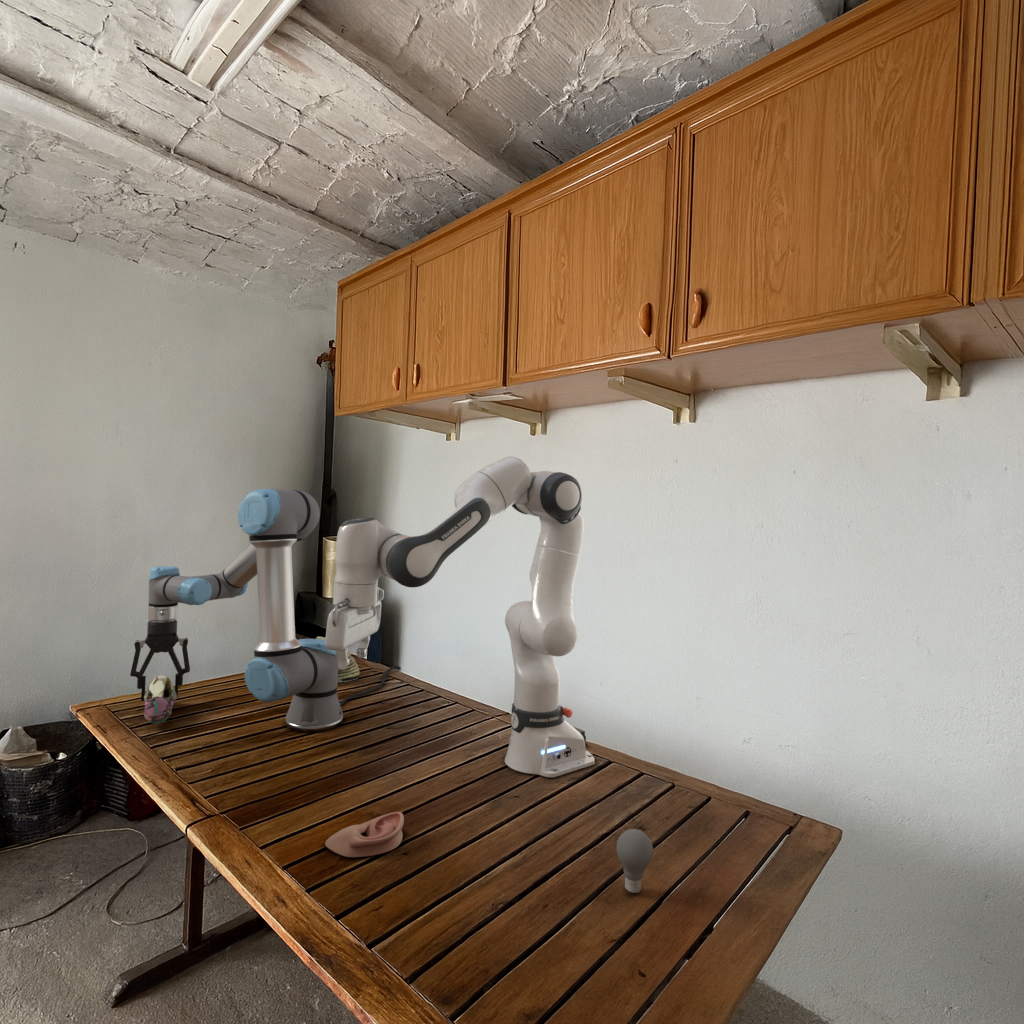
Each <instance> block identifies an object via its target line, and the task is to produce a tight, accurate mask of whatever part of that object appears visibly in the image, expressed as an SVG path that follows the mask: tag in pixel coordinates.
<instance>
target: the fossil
mask: <svg viewBox="0 0 1024 1024" xmlns="http://www.w3.org/2000/svg"><path fill="white" fill-rule="evenodd" d="M315 639H322V640H326V636H325V637H323V636H317V637H315ZM347 656H348V659H349V667H348V668H346V669H339V668H338V683H347V682H351V681H355V680H358V679H359V677H360V675H361V672H360V668H359V665H358V663H357V662H356V659H355V658H354V657H353V656H352V654H351V652H350V650H349V649H348V652H347Z"/></svg>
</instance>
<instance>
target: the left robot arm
mask: <svg viewBox="0 0 1024 1024" xmlns="http://www.w3.org/2000/svg"><path fill="white" fill-rule="evenodd" d="M238 508H239V509H238V512H237V520H238V524H239V527H240V528H241V531H242V532H244V533H245V534H246V535H248V537H249V539H248V541H249V544H250V545H248V547H247V548H246V549H245V550H244V551H243V552H242V553H240V554H239V555H238V556H237V557H236V558H234V560H232V562H231V563H230V564H228V566H226V567H225V568H224V569H223V570H222V571H221V572H219V573H213V574H212V573H211V574H204V575H203V574H202V575H193V576H186V575H180V568H179V567H177V566H174V565H160V566H158V565H157V566H153V567H152V568H150V570H149V579H148V605H147V619H148V622H147V629H146V630H147V634H146V637H145V639H141V640H139V639H137V640H135V641H134V645H133V646H134V649H135V650H134V656H133V660H132V664H131V669H130V673H129V675H130V677H134V678H137V679H136V680H137V683H136V688H137V690H141V696H140V697H141V698H140V701H141V702H144V695H145V694H146V678H147V675H144V674H145V673H146V670H147V668H148V666H149V664H150V662H151V660H152V659H153V657H154V655H155V654H160V653H168V655H169V657H170V659H171V661H172V663H173V665H174V668H175V670H176V672H177V673H175V677H174V678H175V679H174V689H175V692H176V694H177V699H178V698H179V697H178V696H179V687H182V686H183V682H184V674H189V673H190V671H191V666H190V660H189V652H188V644H189V638H188V637H184V638H183V637H179V636H178V620H177V619H178V614H179V613H178V612H179V603H180V604H185V605H188V606H201V605H204V604H205V603H207V602H209V601H215V600H223V599H234V598H236V597H239V596H242V595H244V594H245V593H246V591H247V588H248V587H249V582H250V581H251V580H252V579H254V578H255V577H256V576H257V600H258V621H259V622H258V623H259V624H258V625H259V642H258V643H257V644H256V646H255V647H254V648H253V656H254V658H252V659H251V660H250V661H249V662H248V663H247V666H245V670H244V680H245V685H246V687H247V690H248V691H249V693H250V694H251V695H253V697H254V698H255V699H256V700H258V701H260V702H263V703H274V702H277V701H283V700H285V699H286V698H289V697H291V696H293V697H292V699H291V702H290V704H289V708H288V710H287V711H286V712H285V726H286V728H287V729H289V730H291V731H294V732H295V731H296V732H301V733H316V732H325V731H329V730H332V729H335V728H337V727H339V726H340V725H342V723H343V722H344V714H343V709H342V706H343V705H344V704H345V703H346V702H347V701H349V700H351V699H353V698H356V697H360V696H364V695H367V694H370V693H372V692H374V691H376V690H378V689H380V688H381V687H382V686H383V685H384V684H385V682H386V679H387V674H389V673H390V672H391V671H393V670H394V669H397V670H402V668H401V666H400V665H393V666H391V667H389V668H388V669H386V670H385V671H384V672H383V674H382V676H383V678H382V679H381V682H380V683H378V684H377V685H375V686H373V687H371V688H369V689H367V690H363V691H360V692H356V693H353V694H350V695H348V696H346V697H344V698H343V699H341V701H340V699H339V695H338V659H337V656H336V653H335V651H336V650H328V649H327V648H326V644H325V640H322V639H316V638H300V639H297V638H296V625H295V624H296V623H295V622H296V621H295V601H294V600H295V599H294V579H293V578H294V577H293V556H292V555H293V554H292V553H293V552H292V547H293V545H294V544H295V543H297V542H301V541H303V540H304V539H305V538H307V536H309V535H310V534H311V533H312V532H313V531H314V529H315V528H316V527H317V525H318V524H319V521H320V516H321V512H320V507H319V504H318V502H317V500H316V499H315V498H314V497H313V496H312V495H311V494H309V493H308V492H306V491H303V490H296V489H293V490H291V489H278V488H277V489H276V488H261V489H255V490H252V491H250V492H248V493H247V494H246V495H245V497H244V499H242V501H241V502H240V505H239V507H238ZM178 643H179V646H180V647H181V651H182V658H183V664H184V667H182V665H181V663H180V660H179V658H178V656H177V654H176V652H175V648H174V647H175V646H176V645H177V644H178ZM144 645H146V646H147V647H148V648H149V651H148V654H147V655H146V657H145V659H144V662H143V663H142V665H141V667H140V669H139V671H137V669H138V664H139V659H140V655H141V650H142V649H143V648H144Z"/></svg>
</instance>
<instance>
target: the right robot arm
mask: <svg viewBox="0 0 1024 1024" xmlns="http://www.w3.org/2000/svg"><path fill="white" fill-rule="evenodd" d="M582 496H583V493H582V487H581V485H580V482H579V481H578V480H577V478H576V477H574V476H572V475H571V474H568V473H566V472H561V471H557V472H556V471H551V470H550V471H549V470H540V471H530V469H529V467H528V465H527V464H526V463H525V461H524V460H522V459H521V458H519V457H516V456H506V457H504V458H500V459H498V460H496V461H494V462H492V463H490V464H488V465H486V466H484V467H482V468H481V469H479V470H478V471H476V472H474V473H473V474H472V475H470V476H469V477H468V478H466V479H465V480H464V481H463V482H462V483H461V484H460V485H459V486H458V487H457V488H456V490H455V492H454V497H453V500H454V507H455V510H454V511H453V512H452V513H451V514H450V515H448V516H447V517H446V518H445V519H444V520H442V521H441V522H439V524H436V526H434V527H433V528H432V529H431V530H429V531H428V532H426V533H424V534H420V535H414V536H410V535H406V534H402V533H400V532H397V531H396V530H393V529H391V528H390V527H387V526H385V525H384V524H382V523H381V522H379V520H377V518H374V517H371V516H366V517H356V518H350V519H348V520H345V521H343V522H342V523H341V524H340V526H339V528H338V531H337V535H336V541H335V551H334V563H335V567H336V571H335V575H334V579H333V599H332V605H334V608H333V609H332V610H331V611H329V614H328V616H327V622H326V630H325V637H326V640H325V644H326V648H327V649H328V650H336V651H335V653H336V656H337V659H338V668H339V669H346V668H348V667H349V659H348V656H347V652H348V650H349V648H350V647H352V646H353V645H355V644H357V643H358V647H357V649H356V657H357V658H359V659H360V658H361V659H364V658H365V657H366V656H367V655H368V647H369V644H370V642H371V641H370V640H371V635H373V634H375V633H377V632H378V630H379V629H380V625H381V616H382V601H383V600H384V599H385V591H384V589H382V588H381V587H379V579H380V578H381V577H387V578H389V579H391V580H393V581H395V582H397V583H398V584H399V585H402V586H404V587H406V588H419V587H422V586H424V585H427V584H428V583H429V582H430V581H431V580H432V579H433V578H434V577H435V576H436V574H437V572H438V571H439V569H440V568H441V566H442V564H443V563H444V562H445V561H446V559H448V557H450V555H452V554H453V553H454V552H455V551H456V550H457V549H459V548H460V547H461V546H462V545H464V544H465V543H466V542H467V541H468V540H469V539H471V538H472V537H473V536H474V535H475V534H476V533H478V532H479V531H480V530H481V529H482V528H483V527H485V526H486V525H487V524H489V523H490V522H491V521H493V520H494V519H495V518H497V517H499V516H500V515H501V514H503V513H504V512H506V511H507V510H508V509H510V508H511V507H512V508H513V509H514V510H515V511H516V512H519V513H520V514H523V515H529V516H532V517H537V518H539V521H540V532H539V535H538V538H537V542H536V546H535V550H534V553H533V558H532V562H531V566H530V571H529V581H530V584H531V600H522V601H521V600H520V601H517V602H515V603H513V604H512V605H511V606H510V607H508V609H507V611H506V613H505V618H504V624H505V627H506V631H507V632H508V636H509V641H510V647H511V654H512V661H513V669H514V670H513V671H514V687H513V689H514V690H513V703H512V704H511V717H510V722H511V724H510V726H511V732H510V738H509V743H508V747H507V751H506V754H505V757H504V763H505V765H506V766H507V767H509V768H510V769H512V770H513V771H517V772H520V773H523V774H528V775H529V774H530V775H538V776H541V777H545V778H551V779H552V778H557V777H561V776H564V775H566V774H570V773H572V772H576V771H578V770H581V769H586V768H588V767H591V766H593V765H595V763H596V762H595V761H596V760H595V756H593V754H592V753H591V752H589V750H588V749H587V746H589V744H588V742H586V741H587V737H586V731H585V730H583V729H580V728H578V727H576V726H573V725H572V724H570V723H569V722H567V721H566V720H565V718H568V719H569V718H571V717H572V716H573V711H572V709H570V708H568V707H564V706H562V705H561V704H560V703H559V702H560V682H561V681H560V680H561V676H560V672H559V669H558V667H557V665H556V661H555V657H563V656H566V655H568V654H569V653H570V652H572V651H573V649H574V648H575V647H576V644H577V642H578V639H579V631H578V627H577V625H576V622H575V618H574V609H573V608H574V606H573V602H574V601H573V600H574V599H573V597H574V595H573V594H574V593H573V592H574V584H575V579H576V575H577V570H578V565H579V561H580V556H581V552H582V547H583V542H584V533H585V532H584V530H585V520H584V516H583V515H582V514H581V513H580V512H581V508H582V507H581V506H582V500H583V497H582ZM564 716H565V717H564Z"/></svg>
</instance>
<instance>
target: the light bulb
mask: <svg viewBox="0 0 1024 1024" xmlns="http://www.w3.org/2000/svg"><path fill="white" fill-rule="evenodd" d="M615 849H616V854H617V857H618V859H619V861H620V863H621V865H622V867H623V873H624V874H623V875H624V876H625V878H624V888H625V890H627V891H628V892H630V893H634V894H635V893H639V892H640V891H641V889H642V887H641V886H642V879H643V877H644V875H645V871H646V868H647V867H648V866H649V864H650V863H651V861H652V859H653V855H654V847H653V843H652V841H651V838H649V836H648V835H647V834H646V833H645V832H643V831H642V830H641V829H636V828H629V829H627V830H625V831H623V832H622V833H621V834H620V835H619V837H618V839H617V841H616V847H615Z"/></svg>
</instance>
